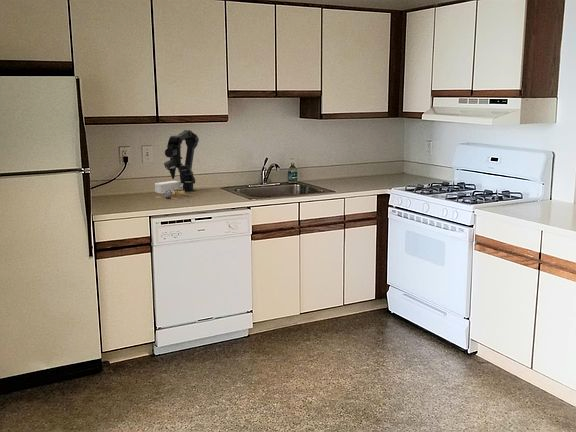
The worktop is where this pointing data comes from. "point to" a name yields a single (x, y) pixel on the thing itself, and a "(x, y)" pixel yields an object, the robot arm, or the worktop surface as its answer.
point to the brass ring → (178, 192)
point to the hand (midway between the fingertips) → (177, 179)
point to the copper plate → (175, 196)
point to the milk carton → (167, 186)
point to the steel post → (168, 194)
